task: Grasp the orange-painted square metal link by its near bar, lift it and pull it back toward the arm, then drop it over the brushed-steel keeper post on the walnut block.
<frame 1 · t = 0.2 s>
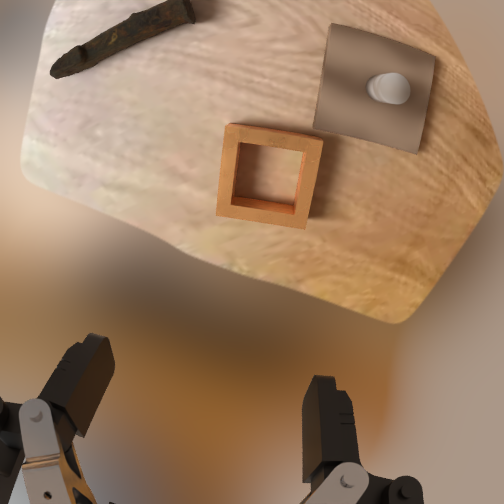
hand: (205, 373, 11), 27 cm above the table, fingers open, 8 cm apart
hand tool: (124, 45, 28), on the table
link: (268, 172, 35), on the table
keeper: (373, 88, 29), on the table
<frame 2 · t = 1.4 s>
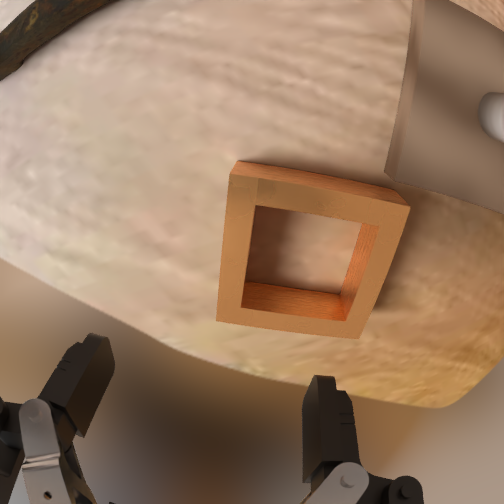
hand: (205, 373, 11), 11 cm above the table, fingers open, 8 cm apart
hand tool: (59, 30, 14), on the table
link: (303, 245, 21), on the table
keeper: (478, 111, 15), on the table
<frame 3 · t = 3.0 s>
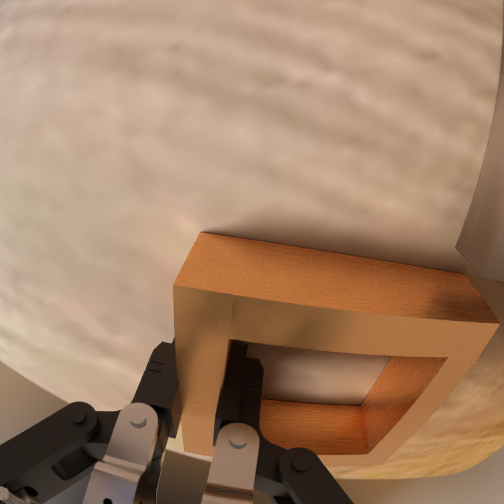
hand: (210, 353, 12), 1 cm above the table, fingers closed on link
link: (314, 357, 12), on the table, touching gripper
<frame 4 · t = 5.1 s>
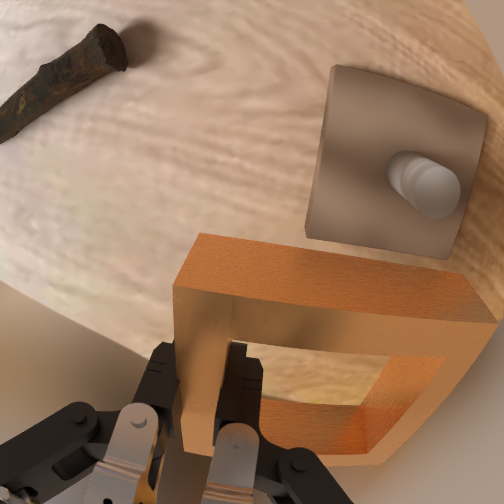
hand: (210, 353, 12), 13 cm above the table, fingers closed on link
hand tool: (45, 106, 20), on the table
link: (313, 357, 13), point 13 cm above the table, touching gripper
keeper: (396, 165, 21), on the table
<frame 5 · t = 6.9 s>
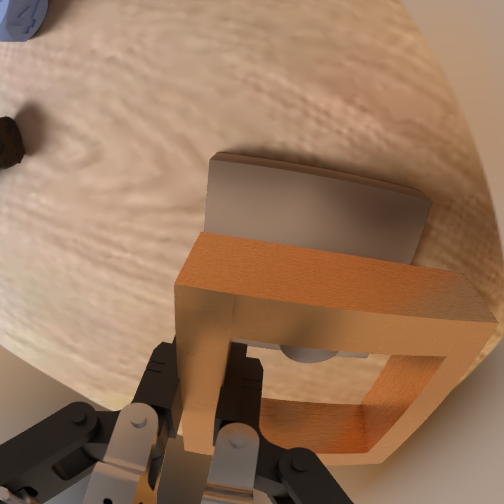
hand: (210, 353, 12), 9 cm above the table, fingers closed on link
link: (314, 356, 13), point 8 cm above the table, touching gripper
keeper: (304, 261, 19), on the table
decorative dice: (30, 15, 12), on the table
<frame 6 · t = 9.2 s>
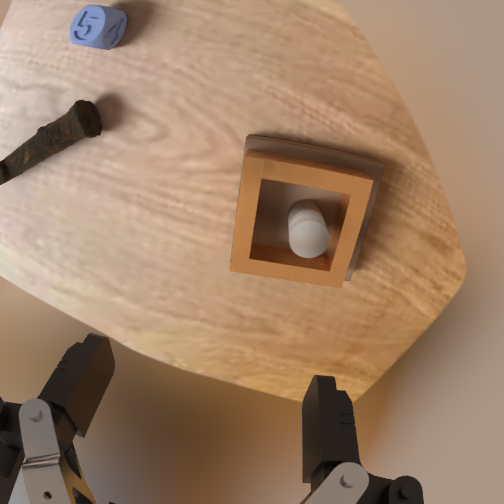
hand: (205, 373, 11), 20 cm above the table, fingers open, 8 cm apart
hand tool: (44, 152, 28), on the table
link: (296, 214, 27), point 2 cm above the table, touching keeper
keeper: (303, 207, 29), on the table
decorative dice: (109, 30, 22), on the table
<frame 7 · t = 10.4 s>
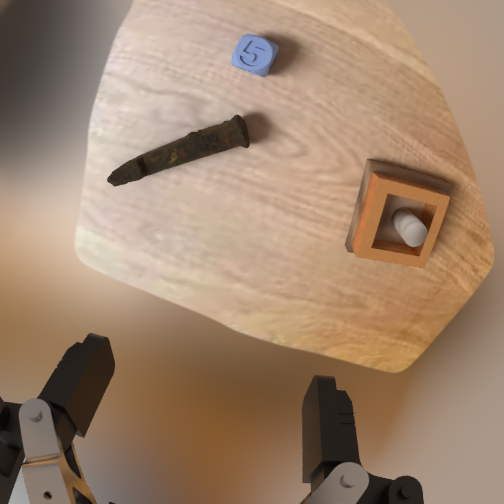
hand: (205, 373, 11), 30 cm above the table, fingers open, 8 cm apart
hand tool: (178, 154, 38), on the table
link: (397, 217, 36), point 2 cm above the table, touching keeper
keeper: (397, 212, 38), on the table
decorative dice: (256, 57, 31), on the table
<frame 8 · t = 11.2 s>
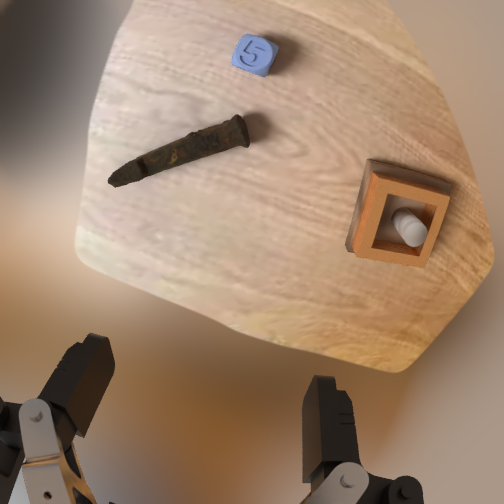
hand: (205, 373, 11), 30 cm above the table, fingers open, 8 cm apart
hand tool: (178, 155, 38), on the table
link: (397, 217, 36), point 2 cm above the table, touching keeper
keeper: (397, 212, 38), on the table
decorative dice: (256, 57, 31), on the table
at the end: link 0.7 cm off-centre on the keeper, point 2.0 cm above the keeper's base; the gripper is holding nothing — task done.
